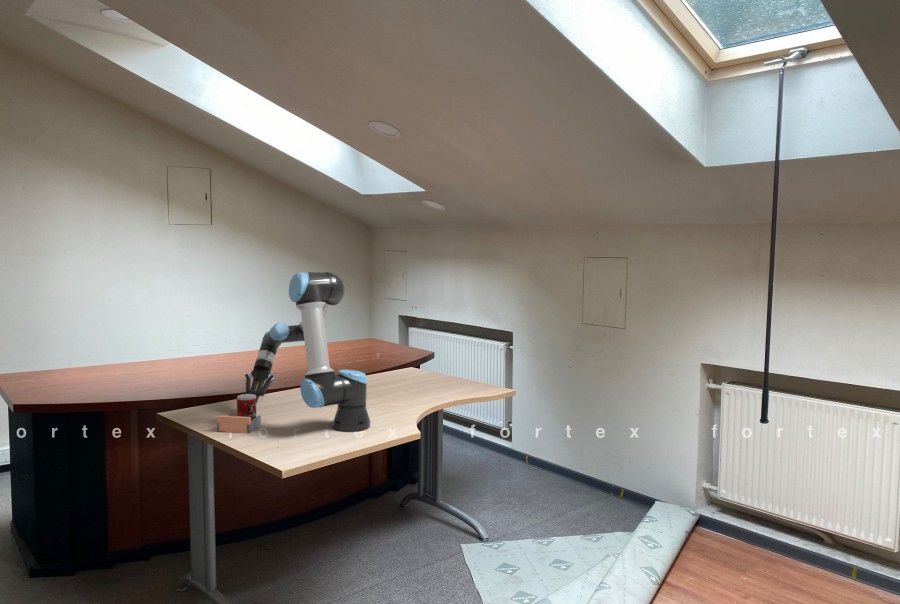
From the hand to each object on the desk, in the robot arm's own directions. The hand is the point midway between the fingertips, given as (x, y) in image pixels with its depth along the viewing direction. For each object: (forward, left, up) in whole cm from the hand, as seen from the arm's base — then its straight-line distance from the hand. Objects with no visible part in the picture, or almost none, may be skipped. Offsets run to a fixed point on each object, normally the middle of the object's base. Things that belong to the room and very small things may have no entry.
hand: (249, 409), depth 261 cm
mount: (-1, +12, -4) cm, 13 cm away
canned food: (-1, +5, -4) cm, 7 cm away
